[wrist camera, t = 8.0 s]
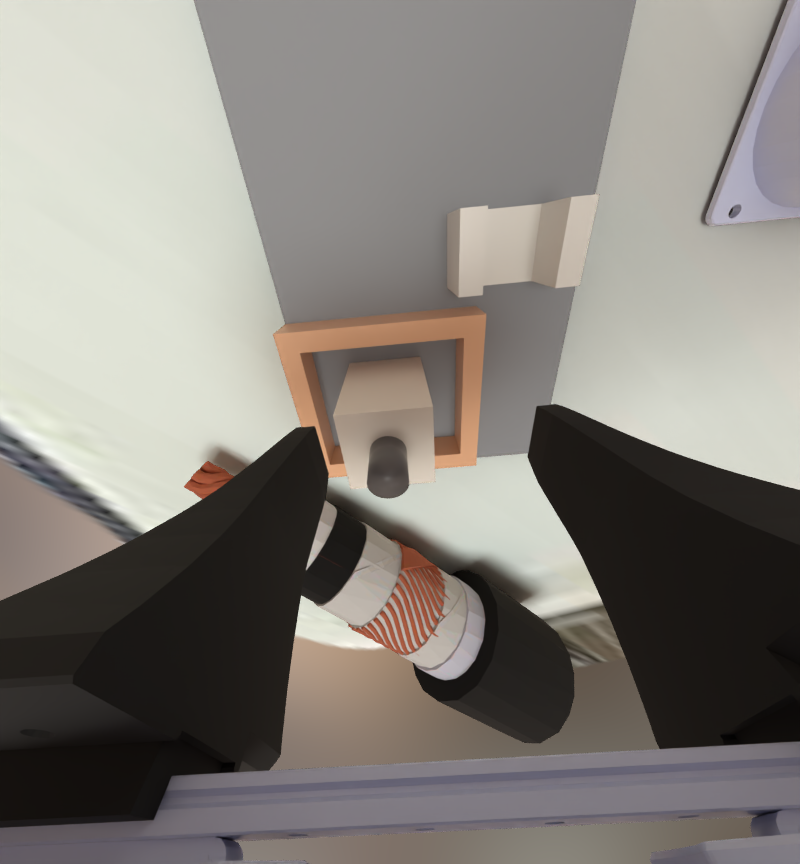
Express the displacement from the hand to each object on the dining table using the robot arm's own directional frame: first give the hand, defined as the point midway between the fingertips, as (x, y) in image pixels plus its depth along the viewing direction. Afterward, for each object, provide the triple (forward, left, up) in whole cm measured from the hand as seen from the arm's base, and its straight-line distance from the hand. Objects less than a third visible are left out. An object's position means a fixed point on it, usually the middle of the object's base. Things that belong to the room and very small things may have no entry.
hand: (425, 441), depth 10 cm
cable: (+3, +19, -10) cm, 21 cm away
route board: (-1, -4, -9) cm, 10 cm away
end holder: (+2, +2, -9) cm, 10 cm away
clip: (-4, -5, -9) cm, 11 cm away
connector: (+2, +2, -8) cm, 9 cm away
